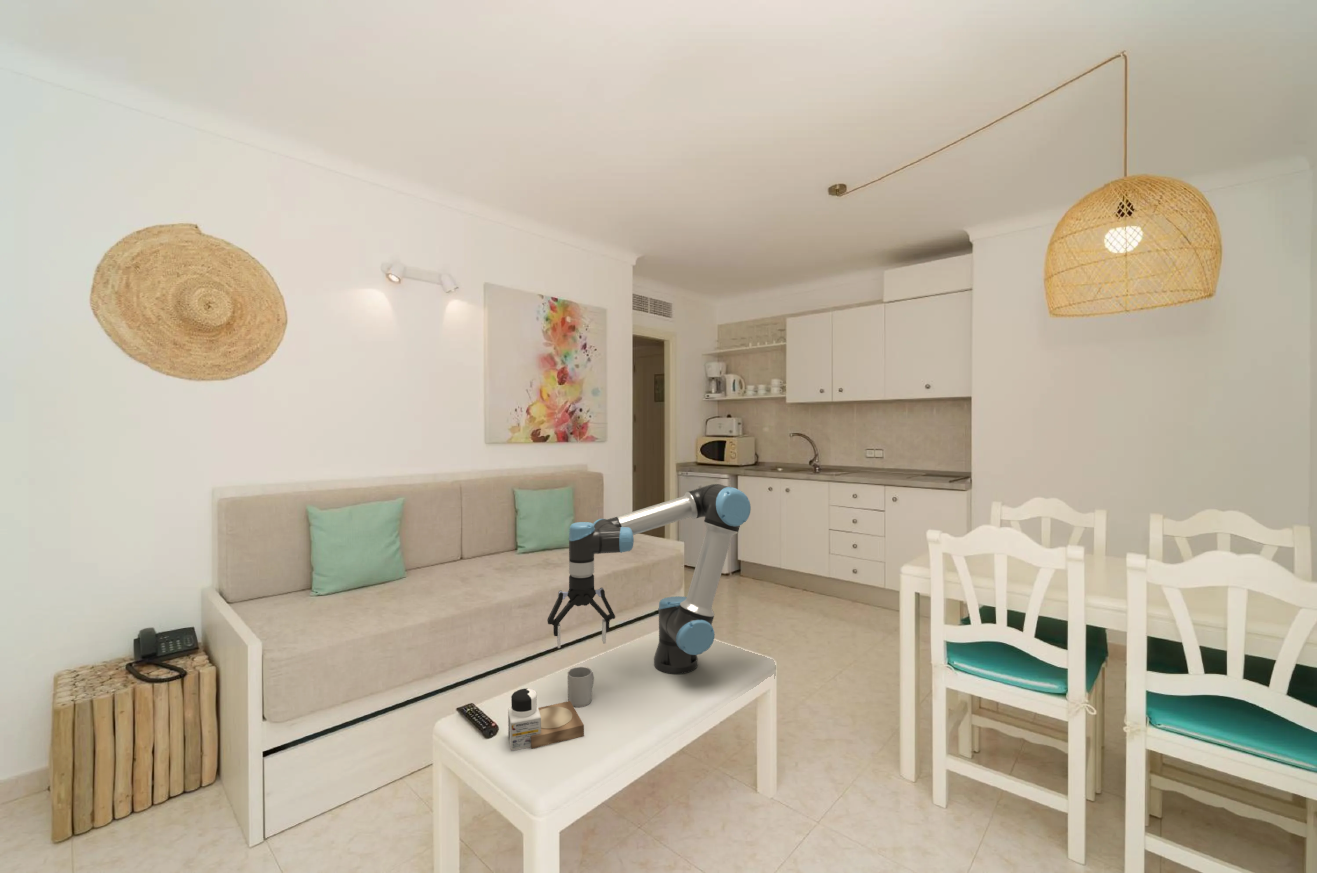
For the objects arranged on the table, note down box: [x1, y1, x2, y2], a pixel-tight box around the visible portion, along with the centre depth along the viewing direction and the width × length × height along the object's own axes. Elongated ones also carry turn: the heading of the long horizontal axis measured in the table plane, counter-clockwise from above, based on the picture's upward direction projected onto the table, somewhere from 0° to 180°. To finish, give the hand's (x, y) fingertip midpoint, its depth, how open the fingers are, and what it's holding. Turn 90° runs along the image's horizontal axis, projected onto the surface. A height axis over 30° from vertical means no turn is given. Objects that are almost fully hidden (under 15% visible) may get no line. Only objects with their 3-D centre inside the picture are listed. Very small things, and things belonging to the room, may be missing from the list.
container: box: [507, 688, 541, 752], centre depth 147 cm, size 8×8×13 cm
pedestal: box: [530, 700, 585, 750], centre depth 153 cm, size 14×14×3 cm
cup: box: [567, 666, 595, 708], centre depth 169 cm, size 7×10×9 cm
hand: (581, 644), depth 168 cm, fingers open, 13 cm apart
